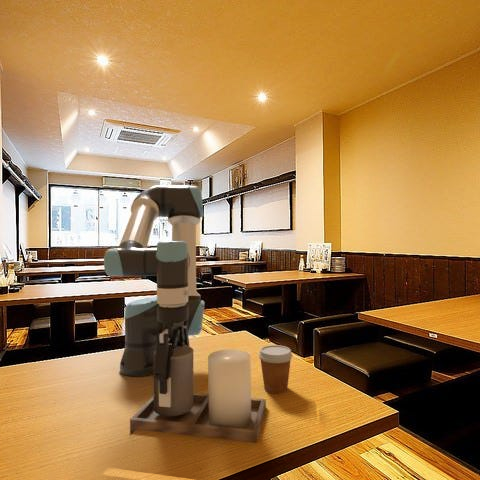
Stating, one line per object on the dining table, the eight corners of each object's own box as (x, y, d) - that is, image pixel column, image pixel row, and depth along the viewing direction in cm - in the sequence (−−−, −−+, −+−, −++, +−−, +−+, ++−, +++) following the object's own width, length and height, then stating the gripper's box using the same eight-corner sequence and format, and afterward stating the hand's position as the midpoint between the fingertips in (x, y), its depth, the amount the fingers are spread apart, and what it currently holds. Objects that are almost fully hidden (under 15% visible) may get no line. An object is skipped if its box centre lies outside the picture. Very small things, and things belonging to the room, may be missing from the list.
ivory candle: (203, 429, 75) (202, 362, 75) (215, 407, 85) (214, 348, 85) (247, 434, 73) (246, 365, 73) (254, 411, 83) (253, 350, 83)
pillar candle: (144, 411, 80) (144, 348, 79) (169, 393, 88) (169, 337, 88) (179, 420, 76) (179, 354, 75) (201, 401, 85) (201, 341, 84)
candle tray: (130, 432, 76) (129, 419, 76) (158, 401, 91) (158, 390, 91) (256, 447, 70) (256, 433, 70) (265, 411, 85) (265, 399, 85)
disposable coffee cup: (270, 403, 89) (270, 358, 89) (252, 389, 97) (252, 347, 97) (299, 395, 93) (299, 352, 93) (280, 382, 102) (279, 342, 102)
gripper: (168, 315, 70) (170, 421, 70) (201, 296, 92) (202, 378, 92) (135, 313, 72) (137, 418, 72) (176, 295, 93) (176, 376, 94)
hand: (174, 395), depth 82 cm, fingers closed on pillar candle, 10 cm apart
